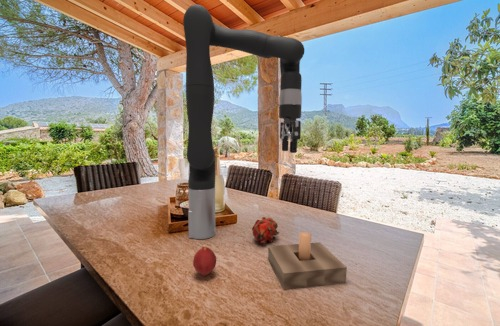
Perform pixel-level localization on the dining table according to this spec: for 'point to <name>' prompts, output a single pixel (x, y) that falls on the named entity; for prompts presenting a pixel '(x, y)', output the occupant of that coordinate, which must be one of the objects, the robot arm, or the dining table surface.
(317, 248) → the hole block
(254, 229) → the dragon fruit
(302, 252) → the peg
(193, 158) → the robot arm
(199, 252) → the onion
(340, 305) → the dining table surface
